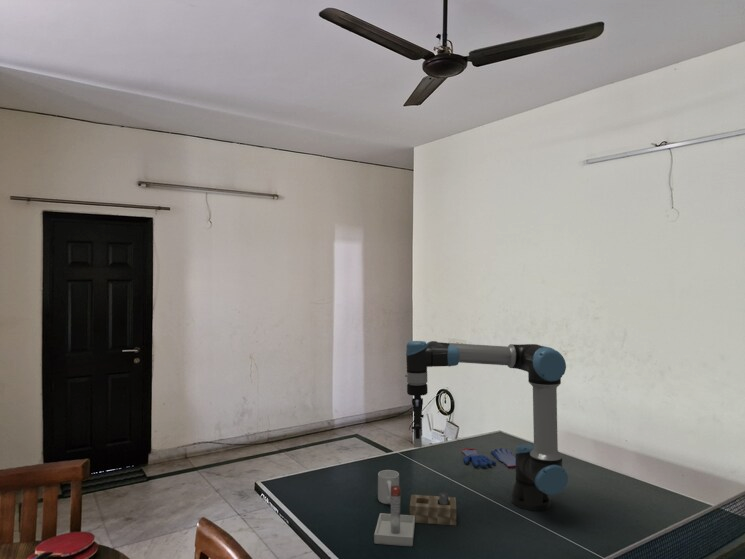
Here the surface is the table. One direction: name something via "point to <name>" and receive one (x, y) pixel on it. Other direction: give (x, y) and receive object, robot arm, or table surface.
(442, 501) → the short pin
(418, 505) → the block
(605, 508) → the table surface
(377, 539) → the tray
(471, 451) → the pair of gloves
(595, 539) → the table surface
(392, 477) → the mug
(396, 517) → the glass vial with cap
